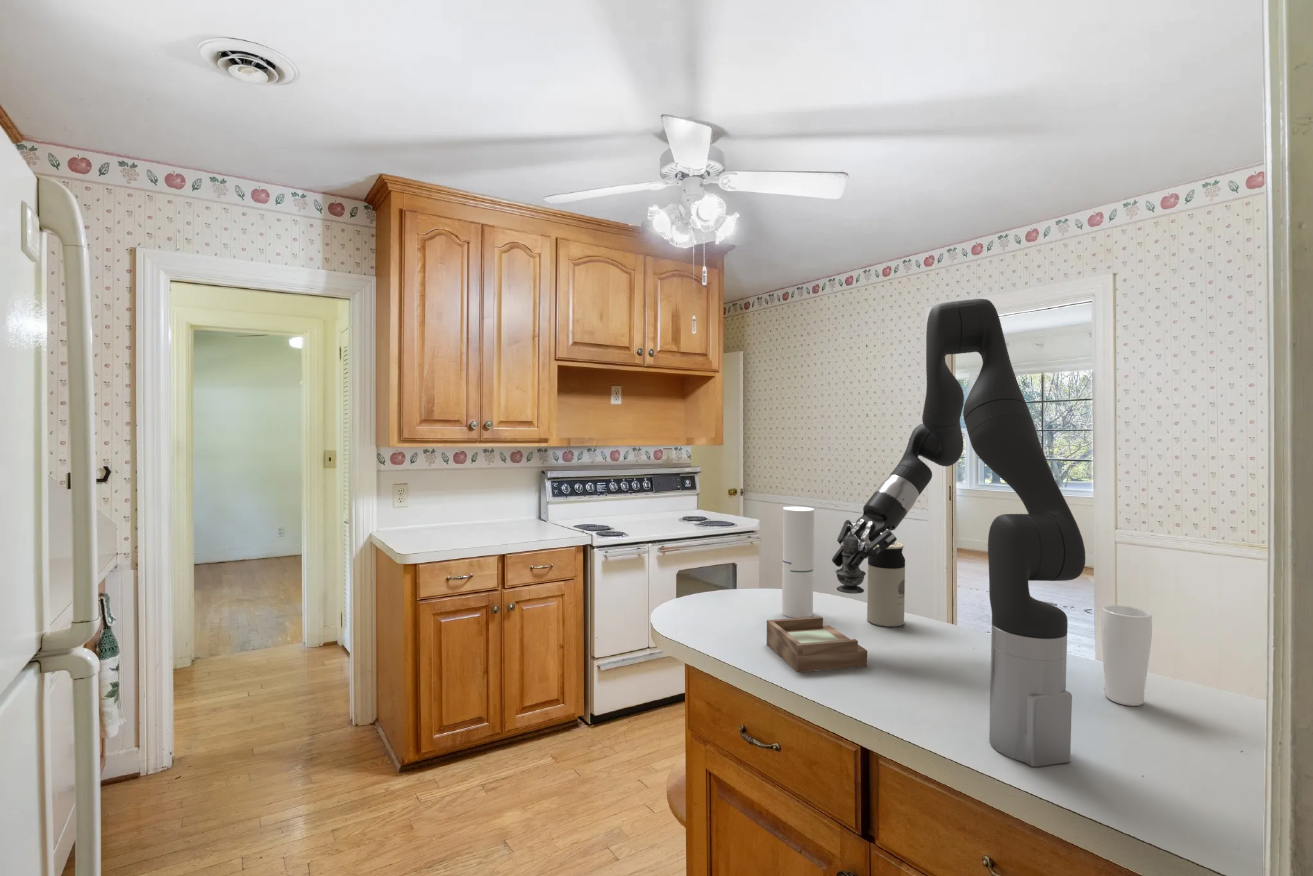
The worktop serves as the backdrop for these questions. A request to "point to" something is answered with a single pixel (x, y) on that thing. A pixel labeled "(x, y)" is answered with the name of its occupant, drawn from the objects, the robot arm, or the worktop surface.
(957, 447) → the robot arm
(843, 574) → the salt shaker
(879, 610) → the travel mug
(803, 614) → the cylindrical container
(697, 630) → the worktop surface
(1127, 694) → the drinking glass
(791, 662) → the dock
